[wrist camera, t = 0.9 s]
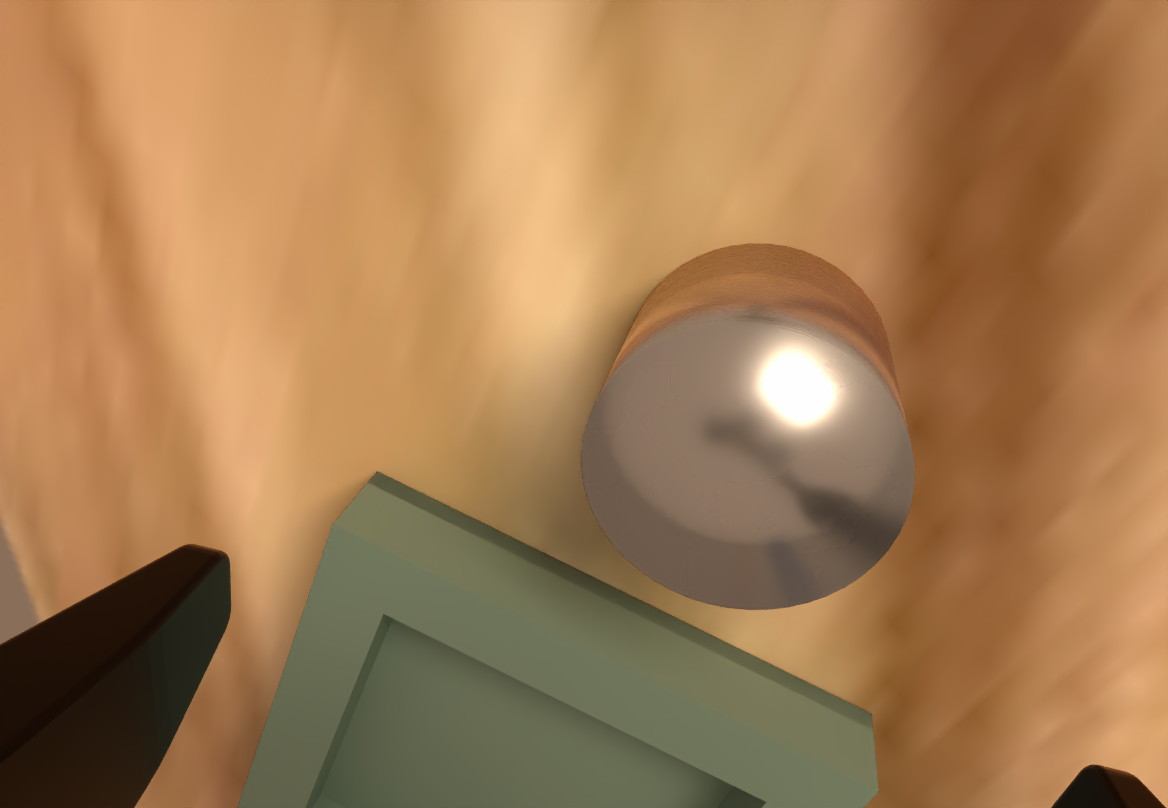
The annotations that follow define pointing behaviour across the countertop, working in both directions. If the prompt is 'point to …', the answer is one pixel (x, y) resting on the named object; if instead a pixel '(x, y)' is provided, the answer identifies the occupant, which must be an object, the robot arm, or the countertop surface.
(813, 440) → the silver rounded cylinder
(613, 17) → the countertop surface
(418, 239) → the countertop surface
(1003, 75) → the countertop surface
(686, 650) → the socket frame
